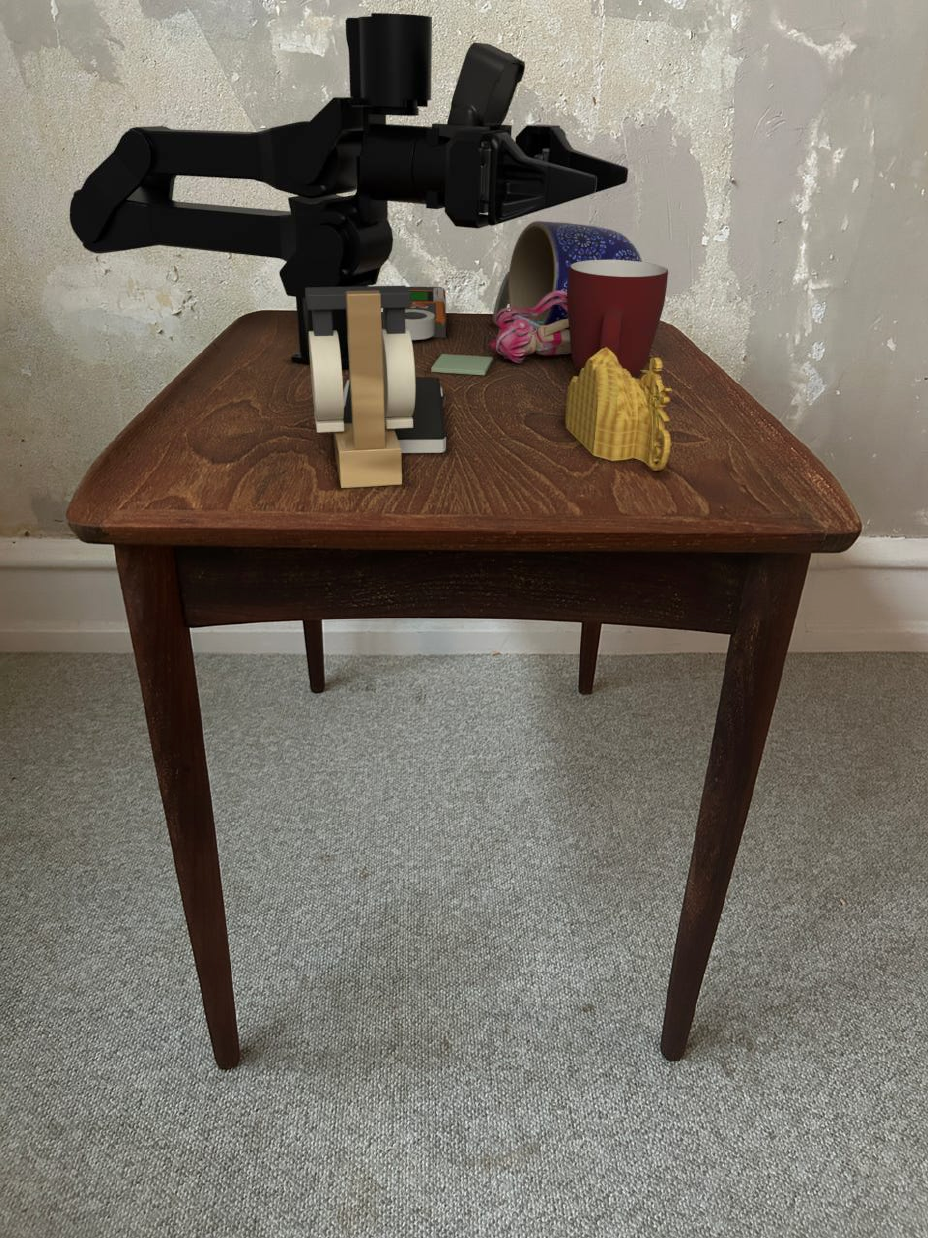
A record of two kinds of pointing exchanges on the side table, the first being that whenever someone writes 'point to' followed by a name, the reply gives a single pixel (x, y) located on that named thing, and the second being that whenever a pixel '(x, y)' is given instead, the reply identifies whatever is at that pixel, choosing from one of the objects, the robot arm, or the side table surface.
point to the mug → (615, 310)
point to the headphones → (329, 357)
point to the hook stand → (366, 402)
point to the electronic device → (425, 313)
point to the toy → (532, 331)
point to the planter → (558, 261)
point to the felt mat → (462, 364)
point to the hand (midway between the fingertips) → (612, 179)
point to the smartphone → (417, 418)
